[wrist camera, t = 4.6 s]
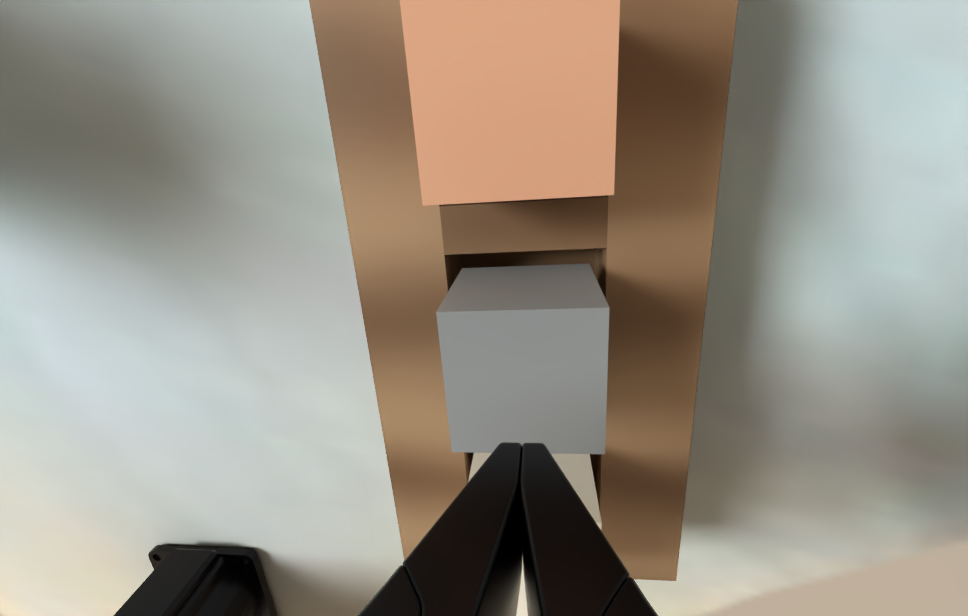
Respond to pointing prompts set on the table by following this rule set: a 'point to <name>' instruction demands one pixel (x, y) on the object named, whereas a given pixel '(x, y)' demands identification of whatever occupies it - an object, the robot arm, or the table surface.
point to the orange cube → (513, 97)
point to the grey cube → (525, 358)
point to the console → (543, 257)
